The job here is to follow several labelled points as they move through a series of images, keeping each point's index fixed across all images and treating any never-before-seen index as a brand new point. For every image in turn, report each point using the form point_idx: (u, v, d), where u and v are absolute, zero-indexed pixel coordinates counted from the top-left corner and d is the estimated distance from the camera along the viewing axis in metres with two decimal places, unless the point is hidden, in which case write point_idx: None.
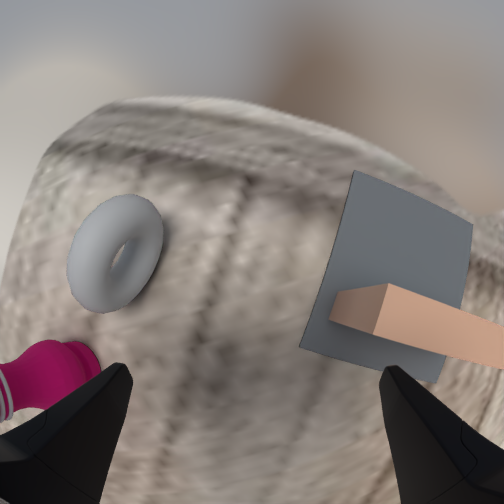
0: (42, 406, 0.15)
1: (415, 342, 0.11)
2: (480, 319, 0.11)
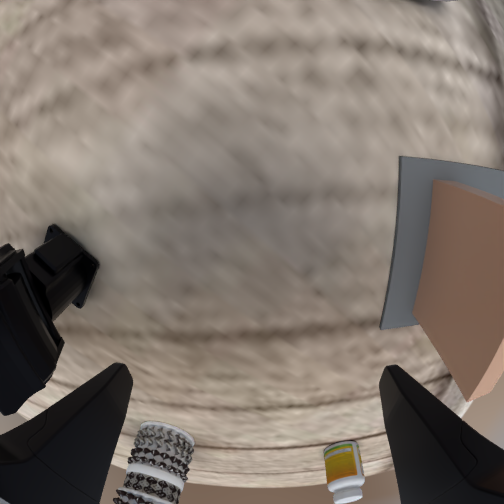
0: None
1: None
2: None
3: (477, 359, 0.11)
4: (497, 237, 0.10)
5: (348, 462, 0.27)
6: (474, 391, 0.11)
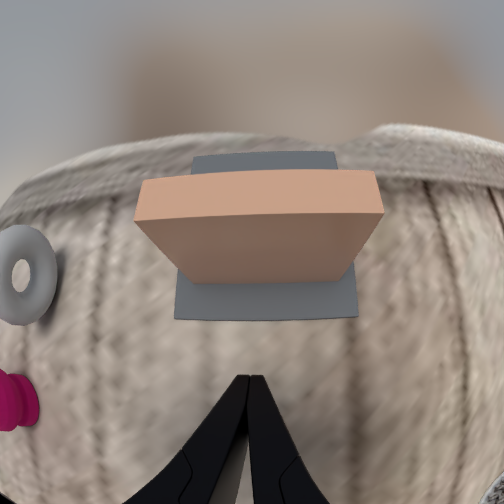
0: None
1: (180, 213, 0.13)
2: (271, 171, 0.13)
3: (320, 225, 0.13)
4: (185, 244, 0.15)
5: None
6: (364, 210, 0.12)
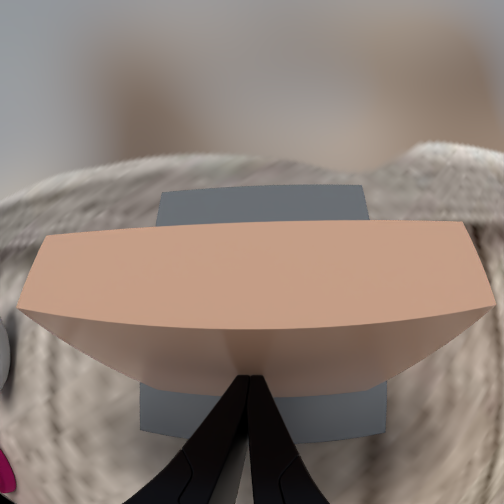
0: None
1: (77, 309, 0.05)
2: (271, 225, 0.06)
3: (374, 342, 0.05)
4: (114, 355, 0.07)
5: None
6: (466, 304, 0.04)
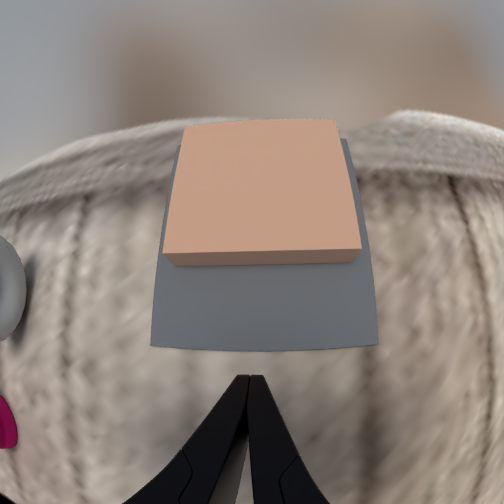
0: None
1: (215, 124, 0.20)
2: None
3: (299, 128, 0.19)
4: (202, 150, 0.19)
5: None
6: (321, 120, 0.20)
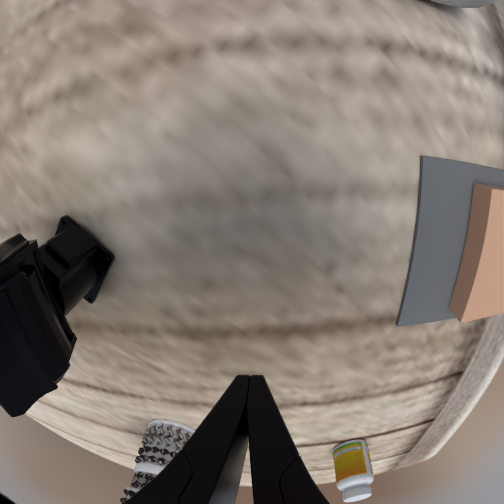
0: None
1: None
2: None
3: None
4: None
5: (357, 460, 0.27)
6: None
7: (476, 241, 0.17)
